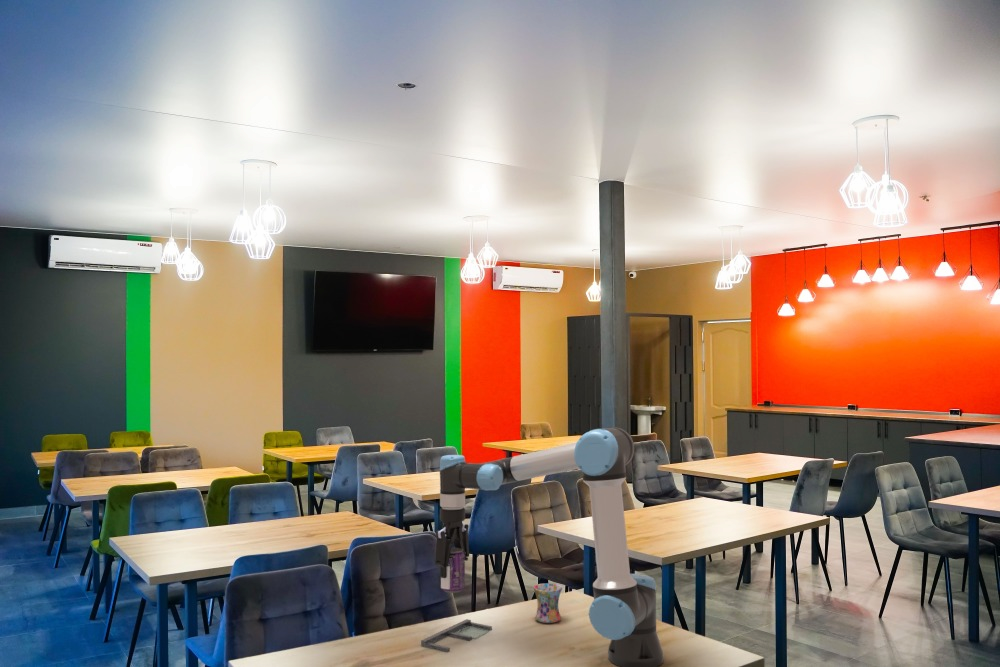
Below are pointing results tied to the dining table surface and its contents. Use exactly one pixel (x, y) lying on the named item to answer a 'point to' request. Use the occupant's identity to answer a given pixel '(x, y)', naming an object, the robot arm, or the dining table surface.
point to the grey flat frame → (456, 634)
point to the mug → (547, 602)
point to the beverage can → (456, 570)
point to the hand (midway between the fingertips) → (452, 585)
